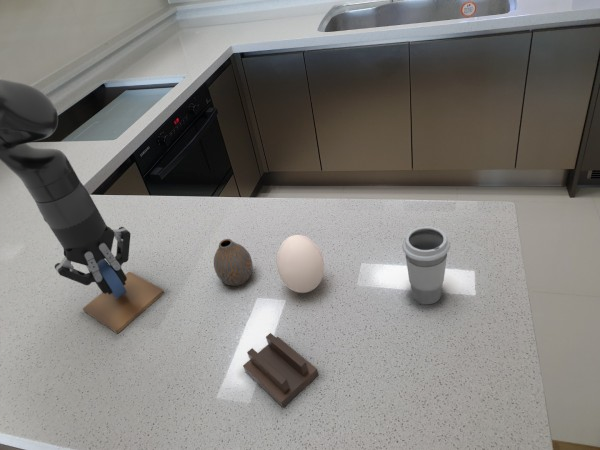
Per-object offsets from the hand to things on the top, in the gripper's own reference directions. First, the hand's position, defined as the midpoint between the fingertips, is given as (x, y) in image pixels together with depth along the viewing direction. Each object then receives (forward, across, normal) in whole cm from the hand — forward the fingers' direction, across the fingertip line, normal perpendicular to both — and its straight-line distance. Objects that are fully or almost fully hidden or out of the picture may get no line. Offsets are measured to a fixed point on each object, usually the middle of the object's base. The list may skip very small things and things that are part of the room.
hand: (115, 287), depth 84 cm
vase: (+4, +18, -13) cm, 22 cm away
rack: (+4, +10, -35) cm, 36 cm away
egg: (+4, +24, -25) cm, 35 cm away
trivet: (+4, 0, 0) cm, 4 cm away
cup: (+4, +36, -42) cm, 55 cm away
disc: (-2, 0, +1) cm, 2 cm away
